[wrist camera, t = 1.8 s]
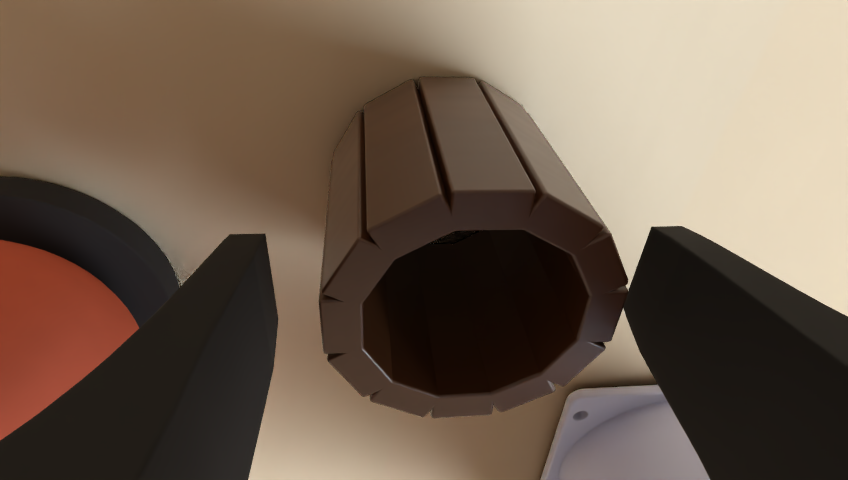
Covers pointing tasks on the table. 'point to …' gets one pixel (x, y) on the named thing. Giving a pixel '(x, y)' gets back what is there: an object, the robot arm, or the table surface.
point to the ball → (67, 291)
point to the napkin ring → (460, 255)
